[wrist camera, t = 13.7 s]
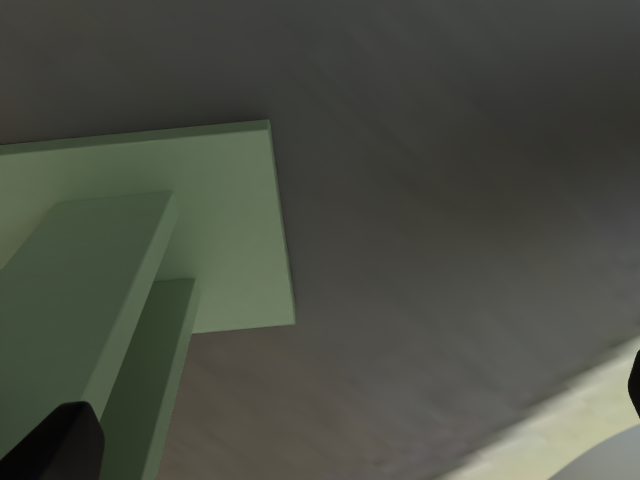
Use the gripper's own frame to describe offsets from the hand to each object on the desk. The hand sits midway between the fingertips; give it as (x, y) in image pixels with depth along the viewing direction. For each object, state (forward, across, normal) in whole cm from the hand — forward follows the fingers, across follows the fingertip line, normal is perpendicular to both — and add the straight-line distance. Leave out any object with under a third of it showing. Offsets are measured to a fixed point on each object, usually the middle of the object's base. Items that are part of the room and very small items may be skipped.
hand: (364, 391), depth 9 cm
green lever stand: (+13, +8, +4) cm, 16 cm away
